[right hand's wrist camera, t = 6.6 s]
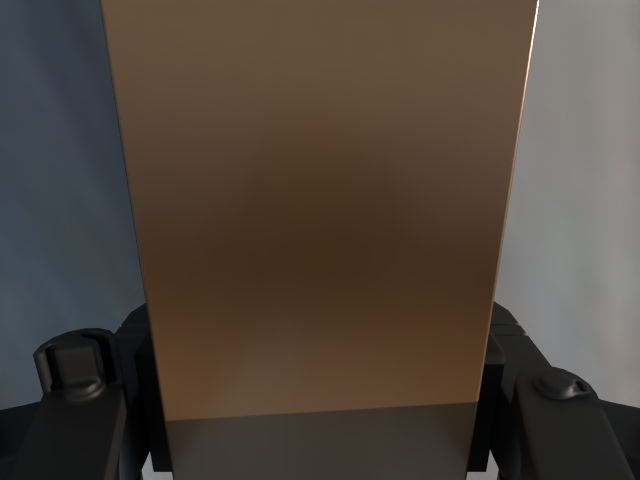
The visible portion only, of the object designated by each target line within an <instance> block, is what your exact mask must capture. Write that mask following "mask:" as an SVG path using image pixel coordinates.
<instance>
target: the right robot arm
mask: <svg viewBox="0 0 640 480" xmlns="http://www.w3.org/2000/svg"><path fill="white" fill-rule="evenodd" d="M33 357H34V361H35V364H36V368H37V372H38V376H39V379H40V383H41V387H42V390H43V397H42V399H41V401H39V402H36V403H32V404H28V405H23V406H18V407H13V408H8V409H4V410H0V480H143V476H142V471H141V470H142V468H143V465H144V463H145V461H146V459H147V456H148V454H149V452H150V453H151V459H152V465H153V471H154V472H172V468H171V462H170V455H169V449H168V442H167V436H166V429H165V423H164V416H163V410H162V403H161V397H160V390H159V384H158V377H157V371H156V364H155V358H154V351H153V345H152V338H151V332H150V325H149V319H148V312H147V306H146V303H145V304H143V305H142V306H140V307H139V308H137V309H136V310H134V311H132V312H131V313H130V314H129V316H128V317H127V318H126V320H125V321H124V322H123V324H122V327H119V329H118V330H117V331H116V333H115V334H113V333H112V332H111V331H109V330H105V329H100V328H85V329H80V330H75V331H70V332H67V333H64V334H62V335H59V336H57V337H54V338H52V339H51V340H49V341H47V342H46V343H44V344H43V345H41V346H40V347H39V348H38V349H37V350H36V351H35V353H34V354H33ZM490 450H491V452H492V455H493V457H494V459H495V461H496V464H497V466H498V468H499V471H498V476H497V480H640V408H636V407H632V406H627V405H622V404H617V403H612V402H608V401H604V400H601V399H599V398H598V396H597V394H596V392H595V391H594V390H593V388H592V387H591V386H590V384H588V383H587V382H586V381H584V380H583V379H581V378H580V377H579V376H577V375H575V374H573V373H571V372H568V371H566V370H564V369H561V368H556V367H552V366H551V365H550V364H549V362H548V361H547V360H546V358H545V357H544V356H543V355H542V353H541V352H540V351H539V349H538V348H537V347H536V345H535V344H534V343H533V342H532V340H531V339H530V338H529V336H526V332H525V331H524V330H523V328H522V327H521V326H520V325H518V322H517V321H516V319H515V318H514V317H513V315H512V314H511V313H510V312H509V311H508V310H507V309H505V308H504V307H502V306H501V305H499V304H497V303H496V302H493V308H492V315H491V321H490V328H489V334H488V341H487V347H486V354H485V360H484V367H483V373H482V380H481V386H480V393H479V399H478V406H477V412H476V419H475V425H474V432H473V438H472V445H471V451H470V458H469V464H468V471H467V472H486V469H487V463H488V457H489V452H490Z"/></svg>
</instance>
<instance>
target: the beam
mask: <svg viewBox="0 0 640 480" xmlns="http://www.w3.org/2000/svg"><path fill="white" fill-rule="evenodd" d="M99 1H100V7H101V14H102V20H103V27H104V33H105V40H106V46H107V53H108V59H109V66H110V72H111V79H112V85H113V92H114V98H115V105H116V111H117V118H118V124H119V131H120V137H121V144H122V150H123V157H124V163H125V170H126V176H127V183H128V189H129V196H130V202H131V209H132V215H133V222H134V228H135V235H136V241H137V248H138V254H139V260H140V267H141V273H142V280H143V286H144V293H145V299H146V306H147V312H148V319H149V325H150V332H151V338H152V345H153V351H154V358H155V364H156V371H157V377H158V384H159V390H160V397H161V403H162V410H163V416H164V423H165V429H166V436H167V442H168V449H169V455H170V462H171V468H172V475H173V480H466V477H467V471H468V464H469V458H470V451H471V445H472V438H473V432H474V425H475V419H476V412H477V406H478V399H479V393H480V386H481V380H482V373H483V367H484V360H485V354H486V347H487V341H488V334H489V328H490V321H491V315H492V308H493V302H494V295H495V289H496V282H497V276H498V269H499V263H500V256H501V250H502V243H503V237H504V230H505V224H506V218H507V211H508V205H509V198H510V192H511V185H512V179H513V172H514V166H515V159H516V153H517V146H518V140H519V133H520V127H521V120H522V114H523V107H524V101H525V94H526V88H527V81H528V75H529V68H530V62H531V55H532V49H533V42H534V36H535V29H536V23H537V16H538V10H539V3H540V0H99Z"/></svg>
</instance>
